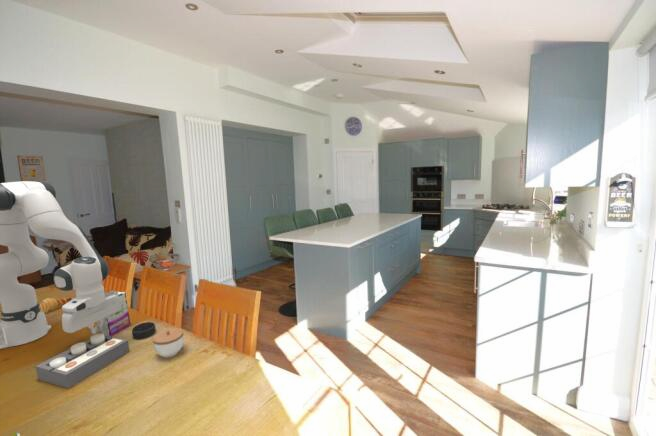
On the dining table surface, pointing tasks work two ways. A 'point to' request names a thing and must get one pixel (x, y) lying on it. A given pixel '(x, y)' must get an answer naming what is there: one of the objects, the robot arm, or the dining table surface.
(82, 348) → the button
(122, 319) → the candy bar box
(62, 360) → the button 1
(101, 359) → the button board
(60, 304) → the croissant
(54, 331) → the dining table surface
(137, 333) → the smart speaker
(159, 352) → the lidded jar
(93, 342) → the button
